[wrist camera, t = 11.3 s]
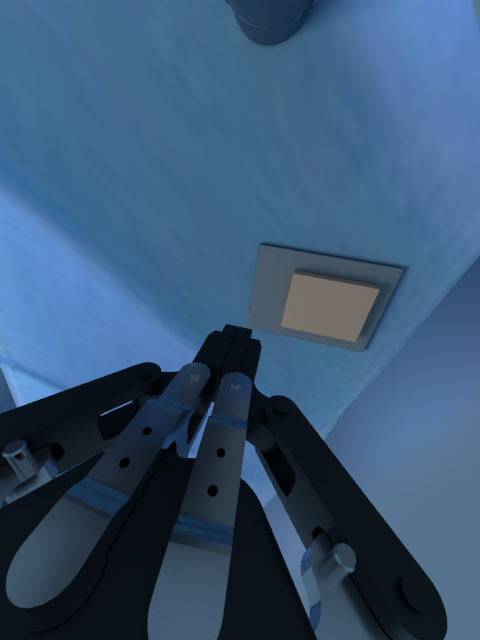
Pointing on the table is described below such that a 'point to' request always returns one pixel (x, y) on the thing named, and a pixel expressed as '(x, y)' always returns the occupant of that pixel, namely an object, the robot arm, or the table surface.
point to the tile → (328, 305)
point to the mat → (281, 263)
